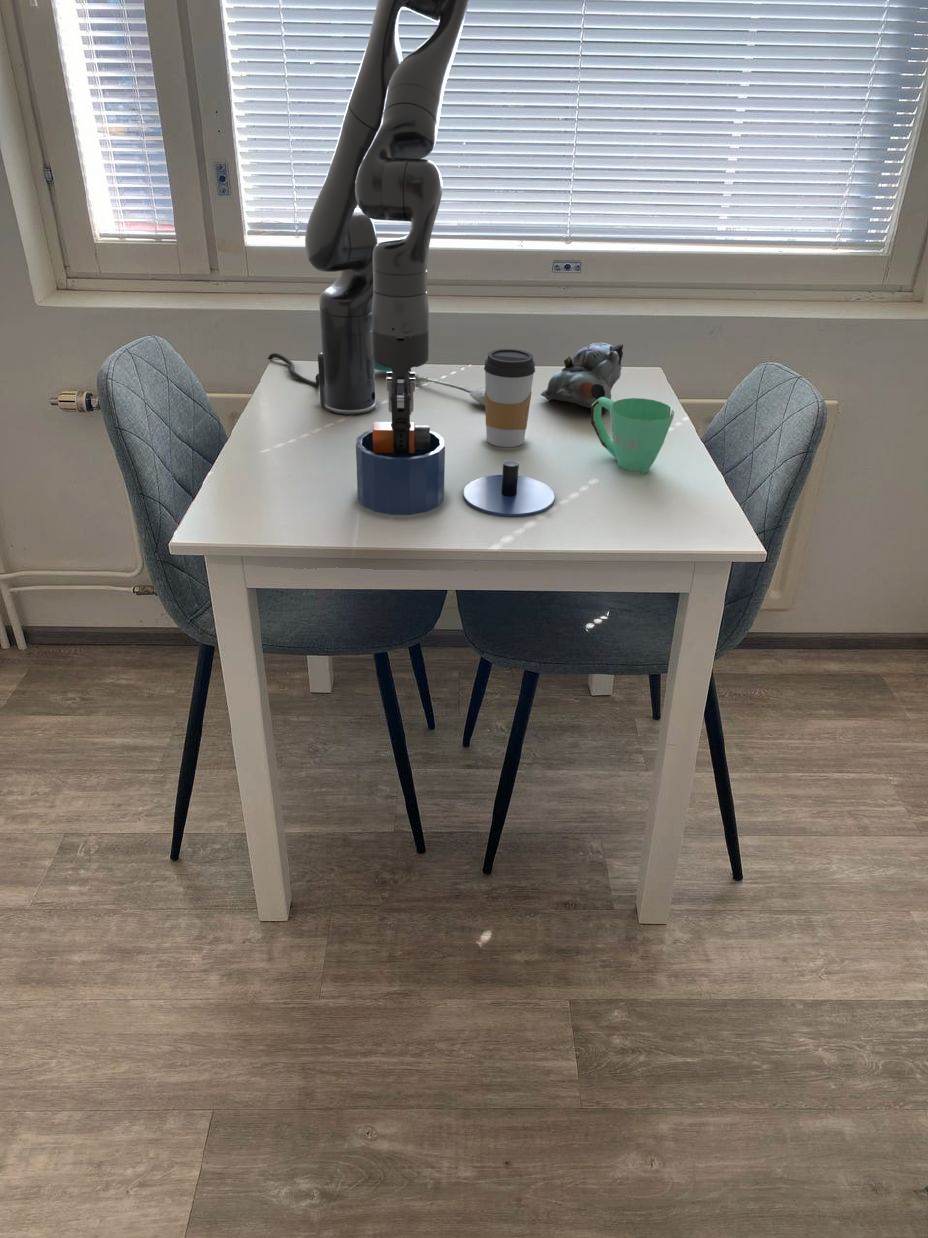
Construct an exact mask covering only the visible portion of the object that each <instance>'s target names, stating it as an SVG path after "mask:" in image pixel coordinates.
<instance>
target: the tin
mask: <svg viewBox="0 0 928 1238" xmlns="http://www.w3.org/2000/svg"><path fill="white" fill-rule="evenodd" d="M355 457H356V485H357V486H356V487H357V500H358V504H359V506H361V505H362V506H363V507H364V508H367V509H368V510H370V511H373V512H375V513H381V514H385V515H390V516H411V515H412V516H413V515H417V514H422V513H427V512H429V511H432V510H434V509H437V508H439V506H440V505H441V504H442V503H443V502H444V500H445V472H446V471H445V469H446V468H445V467H446V466H445V465H446V463H445V462H446V442H445V438H444V437H442V435H440V434H439V433H438V432H436V431H433V430H430V450H414V453H408V454H395V453H373V428H372V429H370V430H366V431H364V432H363V433H362V434H360V435H358V437H357V438H356V441H355Z"/></svg>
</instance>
